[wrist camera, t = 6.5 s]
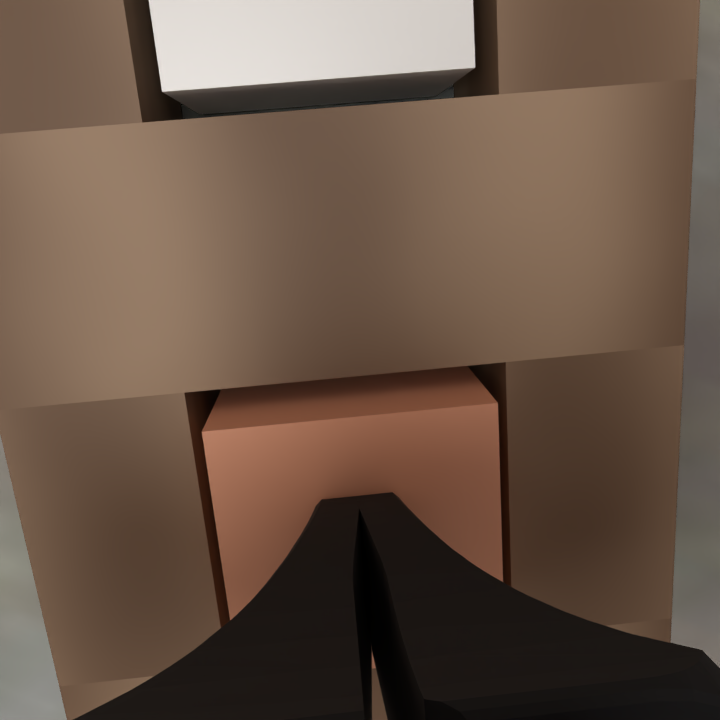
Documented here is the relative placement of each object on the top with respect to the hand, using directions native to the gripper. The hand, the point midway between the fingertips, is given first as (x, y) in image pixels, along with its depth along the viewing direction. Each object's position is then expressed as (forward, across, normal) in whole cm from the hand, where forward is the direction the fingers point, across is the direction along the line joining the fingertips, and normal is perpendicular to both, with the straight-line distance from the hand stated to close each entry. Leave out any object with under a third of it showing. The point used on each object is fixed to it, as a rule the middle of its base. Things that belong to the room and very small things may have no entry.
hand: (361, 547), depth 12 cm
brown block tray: (+4, 0, -5) cm, 7 cm away
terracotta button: (+3, 0, 0) cm, 3 cm away
